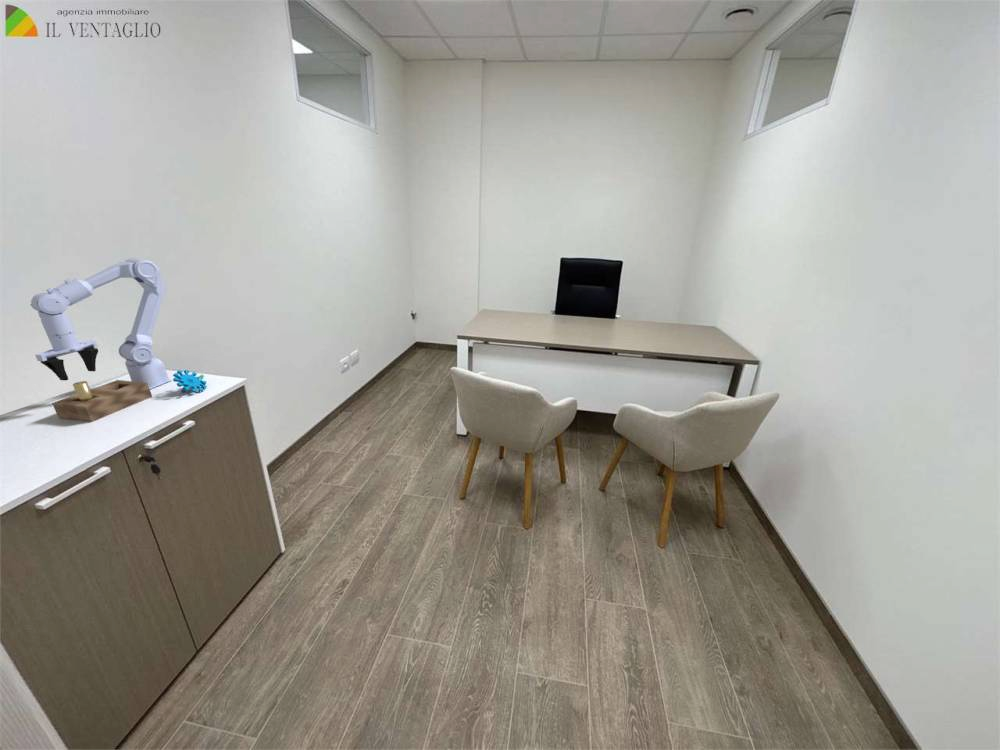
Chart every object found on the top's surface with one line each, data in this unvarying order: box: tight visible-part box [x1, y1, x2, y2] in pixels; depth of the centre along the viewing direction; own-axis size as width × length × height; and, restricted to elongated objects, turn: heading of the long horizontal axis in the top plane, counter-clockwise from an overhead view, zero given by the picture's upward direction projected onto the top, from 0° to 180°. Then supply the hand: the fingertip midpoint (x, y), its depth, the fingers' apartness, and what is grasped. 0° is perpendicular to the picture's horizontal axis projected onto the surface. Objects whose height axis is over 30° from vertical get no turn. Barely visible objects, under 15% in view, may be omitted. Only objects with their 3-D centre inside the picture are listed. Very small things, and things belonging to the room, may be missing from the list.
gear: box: [172, 369, 208, 394], centre depth 136 cm, size 11×6×10 cm
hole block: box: [51, 379, 153, 423], centre depth 124 cm, size 18×12×5 cm, turn 170°
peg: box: [72, 380, 93, 402], centre depth 119 cm, size 3×3×10 cm
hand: (78, 375), depth 124 cm, fingers open, 7 cm apart
